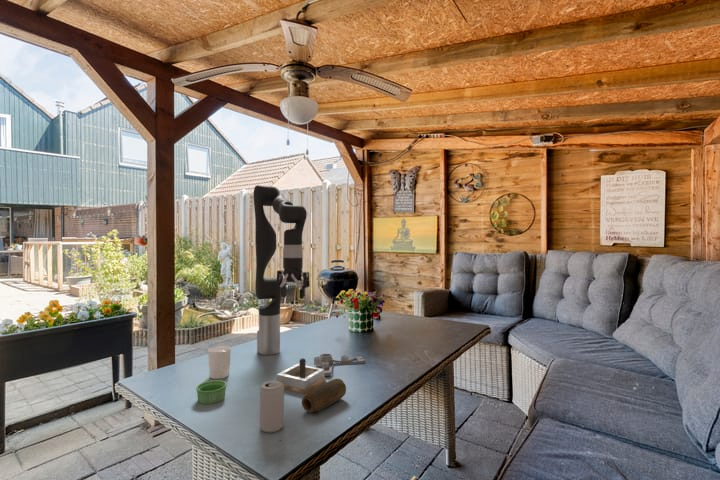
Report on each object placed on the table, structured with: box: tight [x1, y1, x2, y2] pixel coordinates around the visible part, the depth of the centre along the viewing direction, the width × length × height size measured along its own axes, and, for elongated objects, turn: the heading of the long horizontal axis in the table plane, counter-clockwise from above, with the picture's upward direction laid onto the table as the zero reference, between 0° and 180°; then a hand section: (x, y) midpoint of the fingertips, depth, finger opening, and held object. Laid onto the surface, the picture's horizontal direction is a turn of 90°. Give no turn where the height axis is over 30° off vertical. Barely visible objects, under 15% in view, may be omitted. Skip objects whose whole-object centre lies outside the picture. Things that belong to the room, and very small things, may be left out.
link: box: [276, 363, 325, 390], centre depth 130 cm, size 12×12×3 cm
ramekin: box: [195, 379, 227, 405], centre depth 118 cm, size 9×9×4 cm
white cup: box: [207, 345, 232, 380], centre depth 137 cm, size 8×8×10 cm
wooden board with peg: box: [282, 357, 327, 395], centre depth 130 cm, size 12×12×9 cm
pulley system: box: [313, 353, 366, 377], centre depth 148 cm, size 27×5×15 cm
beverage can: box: [259, 380, 285, 434], centre depth 100 cm, size 6×6×12 cm
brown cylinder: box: [301, 378, 347, 413], centre depth 114 cm, size 15×7×7 cm, turn 146°
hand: (292, 297), depth 144 cm, fingers open, 8 cm apart
